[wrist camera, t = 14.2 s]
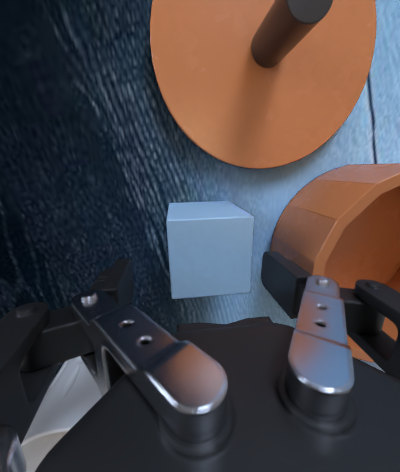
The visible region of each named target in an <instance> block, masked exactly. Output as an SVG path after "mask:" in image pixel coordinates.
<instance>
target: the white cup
mask: <svg viewBox="0 0 400 472" xmlns="http://www.w3.org/2000/svg"><path fill="white" fill-rule="evenodd" d="M101 397H102V396H101V392H100V390H99V387H98V385H97V384H96V382H95V380H94V379H93V377H92V375H91V374H90V372H89V371H88V369H87V367H86V366H85V364H84V362H83V361H82V359H81V356H79V357H76V358H73V359H70V360H67V361H65V363H64V364H63V366H62V367H61V369H60V371H59V372H58V373H57V375H56V376H55V378H54V379H53V380H52V382H51V384H50V386H49V388H48V390H47V392H46V394H45V396H44V398H43V400H42V403H41V405H40V407H39V409H38V411H37V413H36V415H35V417H34V419H33V421H32V423H31V425H30V428H29V430H28V432H27V434H26V436H25V438H24V440H23V442H22V444H21V448H22V451H23V454H24V457H25V460H26V466H27V467H26V472H35V470H36V469H37V467H38V466H39V464H40V463H41V461H42V460H43V459H44V457H45V456H46V455H47V453H48V452H49V451H50V450H51V449H52V448H53V447H54V446H55V444H56V443H57V442H58V441H59V440H60V439H61V438H62V437H63V436H64V435H65V434H66V433H67V432H68V431H69V430H70V429H71V428H72V427H73V426H74V425H75V424H76V423H77V422H78V421H79V420H80V419H81V418H82V417H83V416H84V415H85V414H86V413H87V412H88V411H89V410H90V409H91V408H92V407H93V406H94V405H95V404H96V402H97V401H98V400H99V399H100V398H101Z"/></svg>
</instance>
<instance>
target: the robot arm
mask: <svg viewBox="0 0 400 472" xmlns="http://www.w3.org/2000/svg"><path fill="white" fill-rule="evenodd" d="M261 280H262V284H263V286H264V287H265V288H266V289H267V290H268V292H269V293H270V294H271V295H272V296H273V298H274V299H275V300H276V301H277V303H278V304H279V305H280V306H281V307H282V309H283V310H284V311H285V312H286V313H287V315H288V316H289V317H290V318H291V319H294V318H297V322H296V326H295V328H293V327H290V326H287V325H283V324H278V323H273V322H272V321H271V319H270V318H269V316H268V317H257V318H247V319H243V320H240V321H237V322H233V323H230V324H225V325H224V324H211V323H191V324H180V325H177V332H175V333H172V334H170V333H169V332H167V331H166V330H165V329H164V328H162V327H161V326H160V325H159V324H157V323H156V322H155V321H154V320H152V319H151V318H150V317H149V316H147V315H146V314H145V313H144V312H142V311H141V310H140V309H139V308H137V307H136V306H135V305H134V304H132V303H131V300H132V297H133V291H134V284H133V273H132V263H131V259H117V260H116V262H115V264H114V265H113V267H112V268H107V269H105V270H104V271H102V272H101V273H100V274H99V276H98V278H97V279H96V280H95V282H94V283H93V285H92V286H91V288H90V289H89V291H85V292H82V293H80V294H78V295H76V296H75V297H74V298H73V299H72V300H71V306H69V307H65V308H61V309H57V310H53V311H49V309H48V305H47V304H46V303H44V302H33V303H28V304H24V305H22V306H19V307H17V308H15V309H13V310H11V311H10V312H8V313H7V314H6V315H5V316H4V317H3V318H2V319H1V320H0V472H26V467H27V466H26V460H25V457H24V454H23V451H22V448H21V444H22V442H23V440H24V438H25V436H26V434H27V432H28V430H29V428H30V425H31V423H32V421H33V419H34V417H35V415H36V413H37V411H38V409H39V407H40V405H41V403H42V400H43V398H44V396H45V394H46V392H47V390H48V388H49V386H50V384H51V382H52V380H53V378H54V375H55V373H56V371H57V369H58V367H59V365H60V363H61V362H64V361H67V360H70V359H73V358H76V357H79V356H81V359H82V361H83V362H84V364H85V366H86V367H87V369H88V371H89V372H90V374H91V375H92V377H93V379H94V380H95V382H96V384H97V385H98V387H99V390H100V392H101V396H102V397H101V398H100V399H99V400H98V401H97V402H96V404H95V405H94V406H93V407H92V408H91V409H90V410H89V411H88V412H87V413H86V414H85V415H84V416H83V417H82V418H81V419H80V420H79V421H78V422H77V423H76V424H75V425H74V426H73V427H72V428H71V429H70V430H69V431H68V432H67V433H66V434H65V435H64V436H63V437H62V438H61V439H60V440H59V441H58V442H57V443H56V444H55V446H54V447H53V448H52V449H51V450H50V451H49V452H48V453H47V455H46V456H45V457H44V459H43V460H42V461H41V463H40V464H39V466H38V467H37V469H36V470H35V472H400V293H399V292H398V291H396V290H394V289H392V288H390V287H389V286H387V285H385V284H383V283H380V282H377V281H374V280H367V279H360V280H357V281H356V283H355V288H354V289H351V288H341V287H339V283H338V282H337V281H335V280H334V279H332V278H329V277H326V276H320V275H311V274H310V273H308V272H307V271H306V270H304V269H303V268H302V267H300V266H299V265H297V264H296V263H295V262H293V261H291V260H288V259H286V258H285V257H284V256H282V255H281V254H280V253H278V252H265V253H264V254H263V261H262V273H261ZM385 317H387V318H388V319H389V320H391V321H392V322H393V323H394V324H395V325H396V327H397V330H398V336H397V339H396V341H395V340H394V339H393V338H391V337H390V336H389V335H388V334H386V333H385V332H384V331H383V330H382V327H383V324H384V320H385ZM347 335H348V336H349V337H350V338H351V339H352V340H353V341H354V342H355V343H356V344H357V345H358V346H359V347H360V348H361V349H362V350H363V351H364V352H365V353H366V354H367V355H368V356H369V357H370V358H371V359H372V360H373V361H374V362H375V363H376V364H377V365H378V366H379V367H380V368H382V369H383V370H384V371H385V372H383V371H381V370H378V369H376V368H374V367H372V366H370V365H368V364H366V363H364V362H362V361H360V360H358V359H356V358H354V357H352V351H351V347H350V346H348V340H347Z"/></svg>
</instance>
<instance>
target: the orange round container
mask: <svg viewBox="0 0 400 472" xmlns="http://www.w3.org/2000/svg"><path fill="white" fill-rule="evenodd" d="M271 252H278V253H280V254H281V255H282V256H284V257H285V258H286V259H288V260H291V261H293V262H295V263H296V264H297V265H299V266H300V267H302V268H303V269H304V270H306V271H307V272H308V273H310V274H311V275H320V276H326V277H329V278H332V279H334V280H335V281H337V282H338V283H339V287H341V288H351V289H354V288H355V283H356V281H357V280H360V279H367V280H374V281H377V282H380V283H383V284H385V285H387V286H389V287H390V288H392V289H394V290H396V291H398V292H399V293H400V164H359V165H346V166H343V167H340V168H336V169H334V170H331V171H328V172H326V173H324V174H322V175H320V176H319V177H317V178H315V179H314V180H312V181H311V182H310V183H308V184H307V185H306V186H304V187H303V188H302V189H301V190H300V191H299V192H298V193H297V194H296V195H295V196H294V197H293V198H292V200H291V201H290V202H289V204H288V205H287V206H286V208H285V209H284V211H283V213H282V214H281V216H280V218H279V220H278V223H277V225H276V227H275V230H274V234H273V237H272V243H271ZM382 330H383V331H384V332H385V333H386V334H388V335H389V336H390V337H391V338H393V339H394V340H395V341H396V339H397V336H398V330H397V327H396V325H395V324H394V323H393V322H392V321H391V320H389V319H388V318H387V317H385V320H384V324H383V327H382ZM347 340H348V346H350V347H351V351H352V357H354V358H357V359H360V360H364V361H369V362H374V361H373V360H372V359H371V358H370V357H369V356H368V355H367V354H366V353H365V352H364V351H363V350H362V349H361V348H360V347H359V346H358V345H357V344H356V343H355V342H354V341H353V340H352V339H351V338H350V337H349V336H348V335H347Z"/></svg>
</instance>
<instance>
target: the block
mask: <svg viewBox="0 0 400 472" xmlns="http://www.w3.org/2000/svg"><path fill="white" fill-rule="evenodd" d="M166 223H167V238H168V252H169V267H170V282H171V296H172V299H180V298H193V297H205V296H217V295H230V294H242V293H250V291H251V270H252V249H253V228H254V216H252V215H251V214H249V213H247V212H246V211H244V210H242V209H241V208H239V207H237V206H236V205H234V204H232V203H231V202H229V201H210V202H185V203H169V207H168V214H167V221H166Z"/></svg>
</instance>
